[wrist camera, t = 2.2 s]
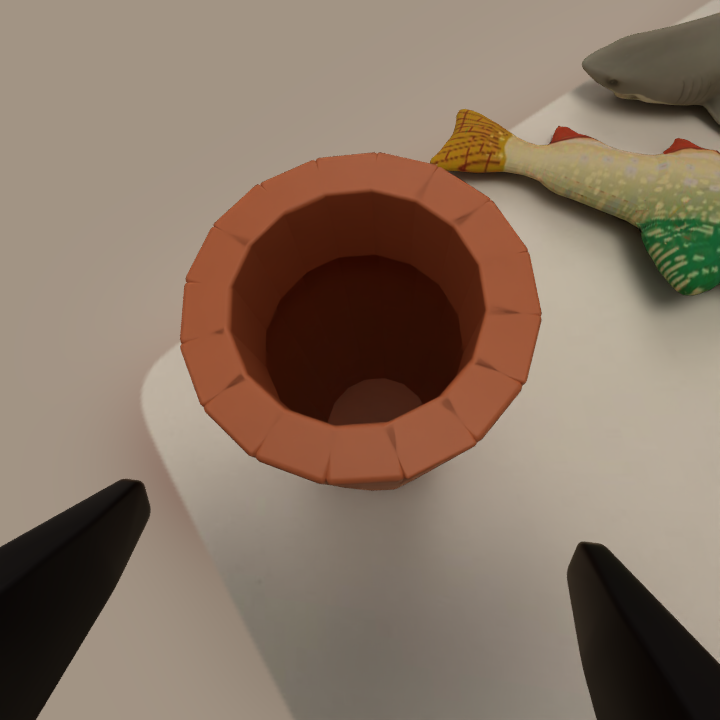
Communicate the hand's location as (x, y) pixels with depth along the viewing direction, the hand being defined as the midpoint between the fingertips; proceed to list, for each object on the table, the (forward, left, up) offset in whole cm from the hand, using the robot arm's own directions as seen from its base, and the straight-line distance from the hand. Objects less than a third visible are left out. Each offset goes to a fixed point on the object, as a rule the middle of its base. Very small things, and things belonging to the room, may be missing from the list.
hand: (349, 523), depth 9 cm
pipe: (+3, +1, -10) cm, 11 cm away
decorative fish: (+23, -11, -10) cm, 27 cm away
